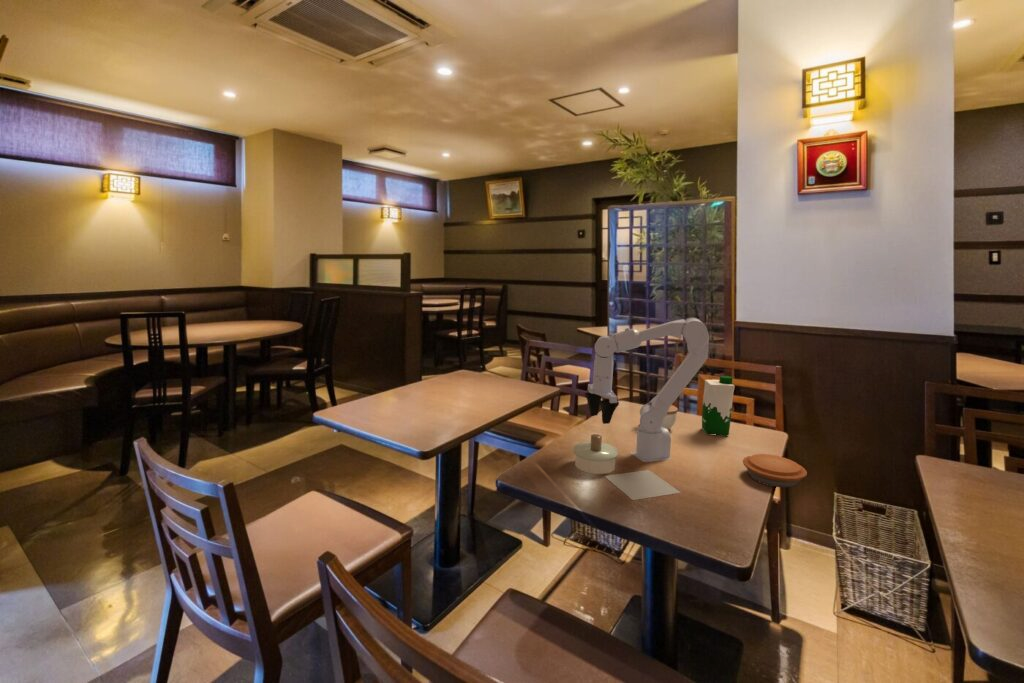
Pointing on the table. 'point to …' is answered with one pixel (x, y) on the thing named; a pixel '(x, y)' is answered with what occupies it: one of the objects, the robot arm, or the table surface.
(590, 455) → the lid
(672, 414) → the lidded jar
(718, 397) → the milk carton
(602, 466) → the bowl
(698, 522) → the table surface
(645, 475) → the mat
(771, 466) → the pie
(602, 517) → the table surface
